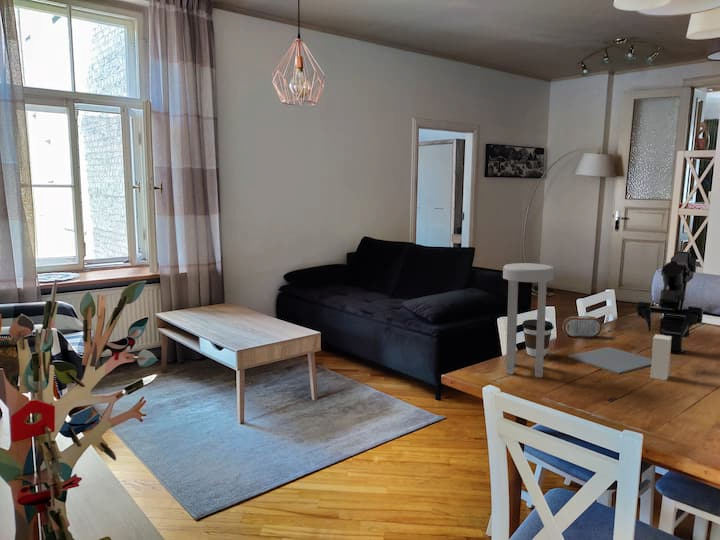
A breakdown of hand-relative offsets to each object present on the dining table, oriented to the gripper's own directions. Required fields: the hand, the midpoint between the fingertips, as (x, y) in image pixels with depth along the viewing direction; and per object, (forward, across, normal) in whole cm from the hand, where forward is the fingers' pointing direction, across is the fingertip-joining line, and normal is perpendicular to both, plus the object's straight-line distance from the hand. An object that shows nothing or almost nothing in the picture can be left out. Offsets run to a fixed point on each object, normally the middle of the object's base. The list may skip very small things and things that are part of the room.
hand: (665, 333), depth 171 cm
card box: (+14, 0, +4) cm, 14 cm away
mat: (+7, -16, +11) cm, 20 cm away
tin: (-11, -32, +29) cm, 45 cm away
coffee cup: (+13, -39, +5) cm, 42 cm away
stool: (+27, -37, -8) cm, 46 cm away
